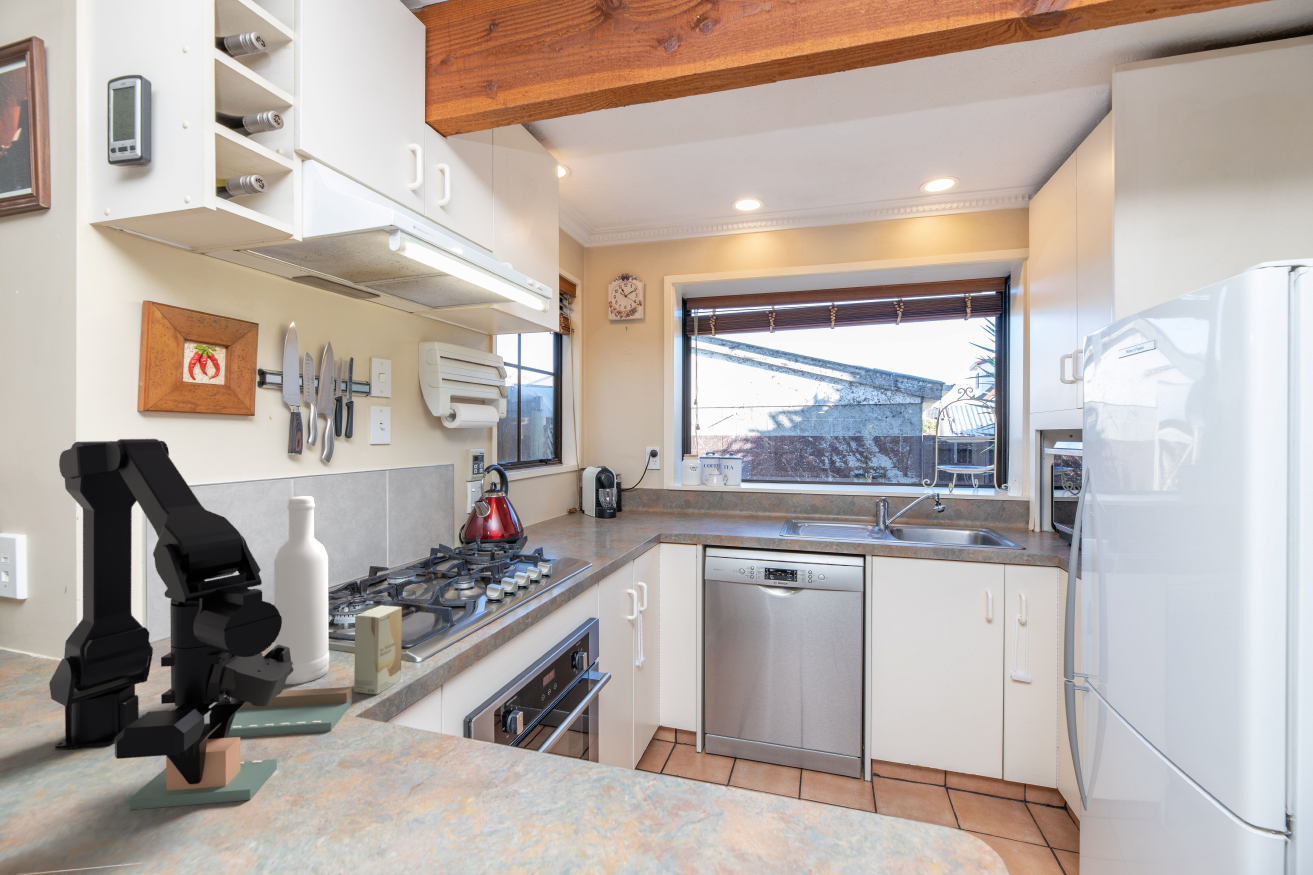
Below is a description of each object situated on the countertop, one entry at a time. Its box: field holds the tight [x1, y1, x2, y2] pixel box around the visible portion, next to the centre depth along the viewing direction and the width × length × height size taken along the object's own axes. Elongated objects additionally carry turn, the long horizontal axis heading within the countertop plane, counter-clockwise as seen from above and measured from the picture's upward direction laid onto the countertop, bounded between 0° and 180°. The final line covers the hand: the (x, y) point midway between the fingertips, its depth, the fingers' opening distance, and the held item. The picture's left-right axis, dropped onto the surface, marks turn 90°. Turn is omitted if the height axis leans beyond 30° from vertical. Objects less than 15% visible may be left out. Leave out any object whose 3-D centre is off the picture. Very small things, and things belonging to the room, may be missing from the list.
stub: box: [129, 737, 278, 811], centre depth 67 cm, size 12×6×5 cm, turn 99°
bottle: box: [273, 495, 330, 686], centre depth 98 cm, size 8×8×30 cm
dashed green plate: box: [227, 686, 353, 738], centre depth 83 cm, size 18×8×3 cm, turn 99°
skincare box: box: [353, 604, 403, 695], centre depth 94 cm, size 6×4×12 cm
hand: (204, 774), depth 67 cm, fingers closed on stub, 3 cm apart
